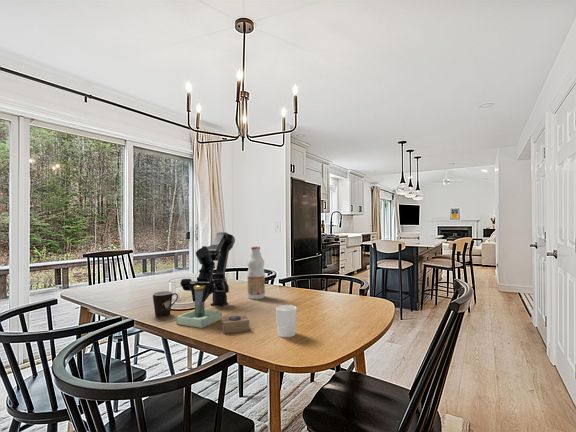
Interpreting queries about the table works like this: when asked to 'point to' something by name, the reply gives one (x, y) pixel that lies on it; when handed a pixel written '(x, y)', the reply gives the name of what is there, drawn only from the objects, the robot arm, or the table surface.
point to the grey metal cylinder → (199, 301)
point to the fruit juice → (256, 275)
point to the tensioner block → (234, 324)
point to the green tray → (191, 320)
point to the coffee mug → (163, 303)
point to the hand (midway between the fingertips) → (198, 301)
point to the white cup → (286, 320)
